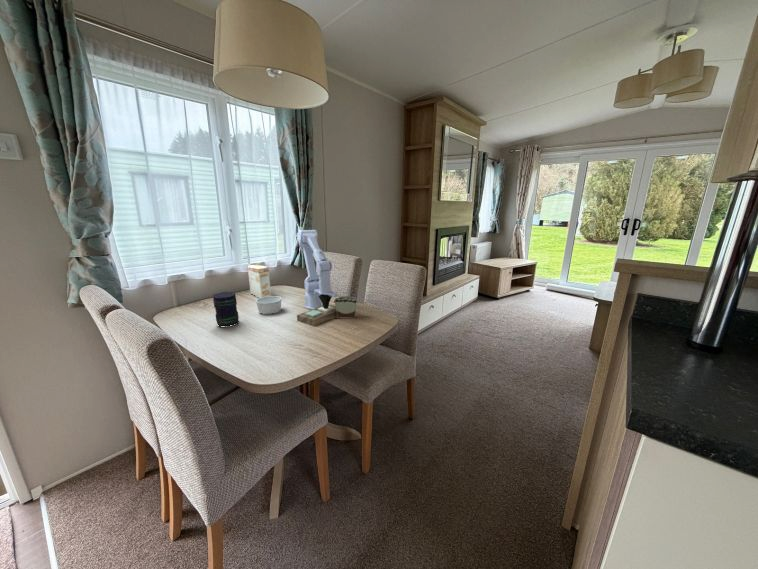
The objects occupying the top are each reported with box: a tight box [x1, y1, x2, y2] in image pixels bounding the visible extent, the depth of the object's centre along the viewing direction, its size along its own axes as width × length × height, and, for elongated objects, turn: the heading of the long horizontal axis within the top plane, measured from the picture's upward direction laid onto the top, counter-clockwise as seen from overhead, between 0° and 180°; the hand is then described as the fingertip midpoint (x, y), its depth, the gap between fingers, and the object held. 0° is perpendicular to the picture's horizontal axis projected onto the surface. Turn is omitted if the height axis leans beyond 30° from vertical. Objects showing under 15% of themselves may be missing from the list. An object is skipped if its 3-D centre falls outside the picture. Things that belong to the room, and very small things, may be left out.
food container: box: [333, 295, 358, 319], centre depth 153 cm, size 12×6×10 cm, turn 84°
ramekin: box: [255, 295, 283, 315], centre depth 161 cm, size 13×13×7 cm
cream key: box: [318, 305, 335, 312], centre depth 155 cm, size 6×6×2 cm
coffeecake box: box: [247, 264, 272, 299], centre depth 188 cm, size 15×7×20 cm, turn 48°
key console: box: [296, 305, 337, 327], centre depth 152 cm, size 12×20×3 cm, turn 145°
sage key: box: [305, 309, 322, 318], centre depth 148 cm, size 6×6×2 cm
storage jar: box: [212, 291, 240, 326], centre depth 142 cm, size 10×10×15 cm
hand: (326, 308), depth 155 cm, fingers closed, pressing on cream key
